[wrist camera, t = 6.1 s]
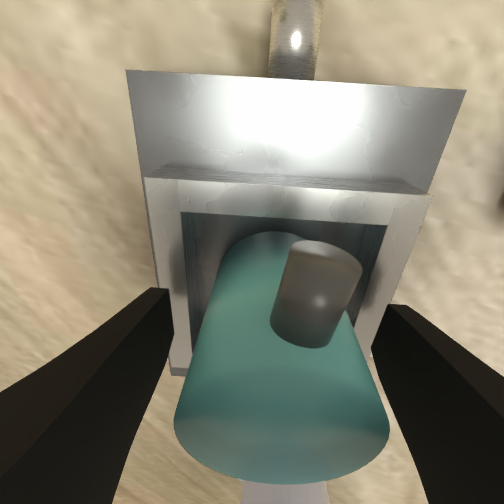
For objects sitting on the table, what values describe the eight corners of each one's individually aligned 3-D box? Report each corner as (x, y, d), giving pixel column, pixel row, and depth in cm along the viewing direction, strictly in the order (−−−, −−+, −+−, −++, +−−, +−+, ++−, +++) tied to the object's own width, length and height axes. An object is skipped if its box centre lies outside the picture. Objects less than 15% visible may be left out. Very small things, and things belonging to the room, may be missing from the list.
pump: (311, 331, 12) (343, 495, 7) (211, 314, 12) (170, 469, 7) (364, 202, 9) (490, 325, 4) (231, 176, 9) (184, 269, 4)
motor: (336, 339, 17) (360, 417, 13) (187, 328, 18) (161, 402, 13) (431, 17, 10) (572, -58, 5) (157, 2, 10) (69, -85, 5)
